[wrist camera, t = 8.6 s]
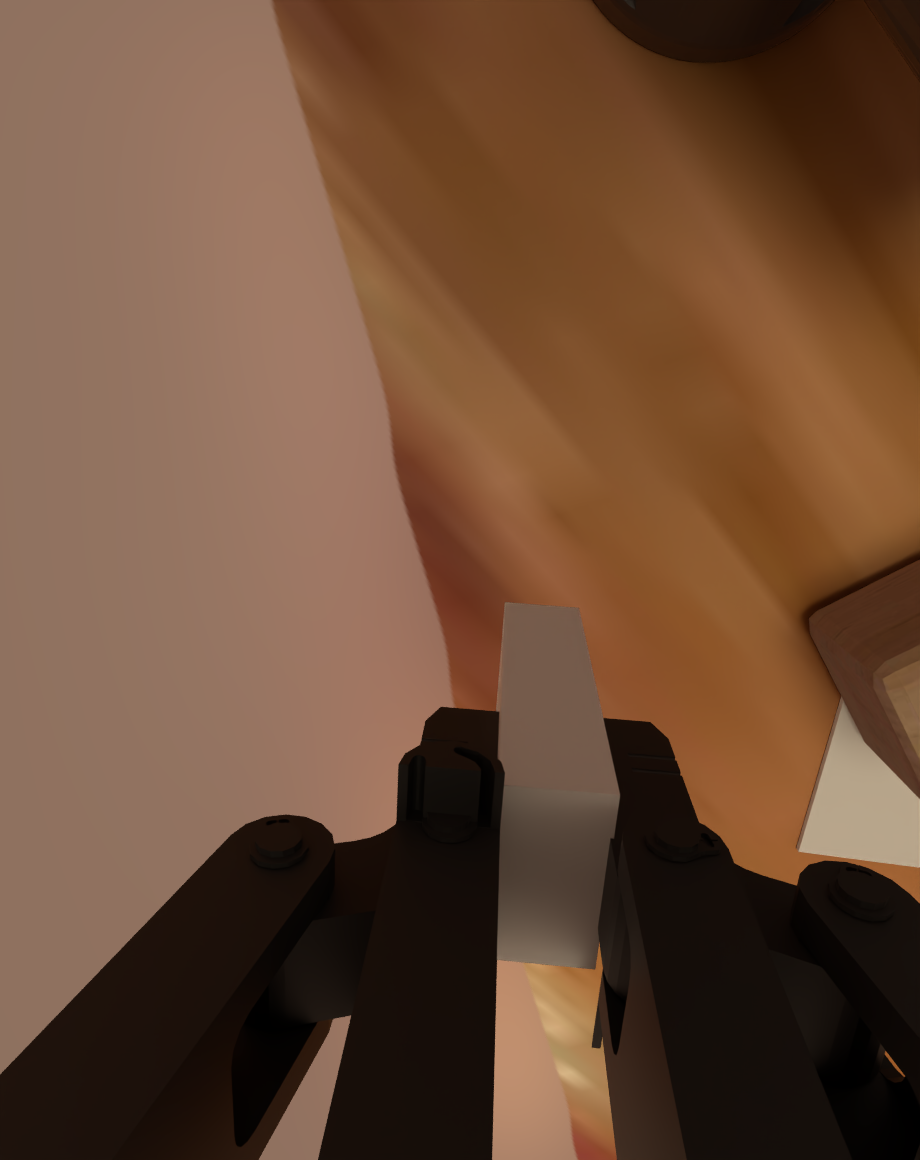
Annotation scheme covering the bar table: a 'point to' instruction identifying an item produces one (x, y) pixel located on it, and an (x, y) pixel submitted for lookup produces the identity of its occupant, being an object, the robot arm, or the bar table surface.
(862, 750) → the mat
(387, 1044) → the robot arm
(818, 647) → the wooden block
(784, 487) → the bar table surface
